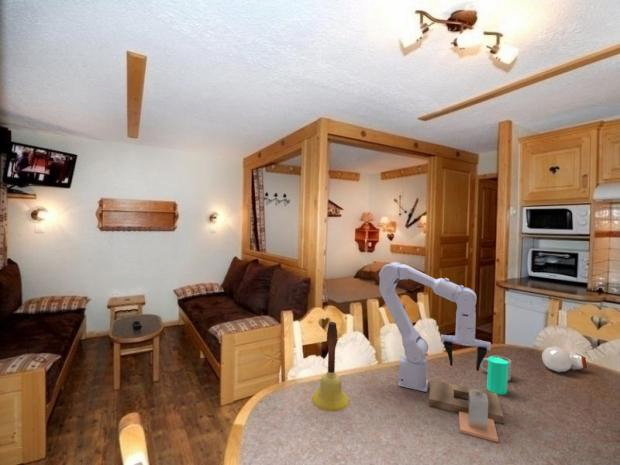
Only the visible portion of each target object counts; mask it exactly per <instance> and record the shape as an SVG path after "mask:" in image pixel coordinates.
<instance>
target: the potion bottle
mask: <svg viewBox="0 0 620 465" xmlns="http://www.w3.org/2000/svg"><path fill="white" fill-rule="evenodd" d="M541 359H542V361H543V364H544V365H545V366H546V367H547V368H548V369H549V370H551V371H554V372H556V373H563V372H567V371H569V370H570V369H572V370H573V371H576V370H578V371H580V370H583V369H584V370H586V369H587V368H588V367H587V360H586V359H587V358H586V357H585V356H583V355H581V354H578V353H575V352H574V351H573V352H572V351H570V352H568V351H566V349H564V348H561V347H559V346H555V345H554V346H549V347H546V348H545V349H544V350H543V351H542V353H541Z"/></svg>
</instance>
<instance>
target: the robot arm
mask: <svg viewBox="0 0 620 465" xmlns="http://www.w3.org/2000/svg"><path fill="white" fill-rule="evenodd" d="M378 277H379V287H378V288H379V292H380V295H381V297H382V300H384V304H385V305H386V307H387V309H388V311H389V313H390V315H391V317H392V319H393V321H394V323H395V325H396V327H397V329H398V331H399V333H400V336H401V343H402V346H403V349H404V355H405V356H400V357H399V363H398V376H397V377H398V381H397V382H398V383H397V385H398V387H404V388H406V389H407V388H408V389H412V390H415V391H419V392H420V391H421V392H425V393H427V392H428V385H429V380H428V374H427V373H428V358H427V356H426V353H428V351H429V344H428V342H427V341H426V340H425V339H424V338H423V337H422V335H421V334H420V331H419V332H418V330H416V329H415V327H414V324H413V323H412V320H411V319H410V316H409V315H408V313H407V311H406V309H405V307H404V305H403V303H402V302H401V299H400V297H399V295H398V294H397V291H396V287H397V285H398V282H399V281H401V280H411V281H414V282H417V283H419V284H422V285H424V286H427V287H429V288H431V290H432V291H433V293H434V294H435V295H438V296H439V297H441V298H444V299H446V300H449V301H450V302H453V303H455V304H456V310H455V316H456V317H455V334H454V335H449V334H448V335H447V334H440V343H444V344H443V346H444V349H445V351H446V353H447V356H448V360H449V365H450V366H451V367H453V362H454V361H453V344H455V345H460V346H461V345H462V346H466V347H473V348H476V363H475V370H476V371H477V372H479V371H480V369H481V362H482V360H483V358H486V355H487V353H488V351H491V350H492V344H491V342H490V341H484V340H481V339H477V338H476V320H477V318H476V316H477V315H476V314H477V312H476V309H477V307H476V304H477V294H476V292H475V291H474V290H473V289H471V288H470V287H464V285H462V284H460V285H458V284H457V283H454V282H452V281H450V279H449V278H448V277H444V278H442V277H440V278H437V279H436V278H434V277H432V276H429V275H428V274H425V273H423V272H422V271H419V269H418V270H417V268H416V269H415V268H413V266H409V265H407V264H404V263H401V262H399V261H392V262H390V263H387V264H383V266H382V267H381V269H380V271H379V273H378Z"/></svg>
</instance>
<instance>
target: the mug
mask: <svg viewBox="0 0 620 465" xmlns="http://www.w3.org/2000/svg"><path fill="white" fill-rule="evenodd" d="M490 356H491V357H498V356H499V358H502V359H503V360H506V361H508V380H507V382H510V381H511V379H512V378H511V377H512V360H511V359H510V358H508V357H505V356H502V355H490ZM488 358H489V357H484V358H483V360H482V362H481V364H480V369H481V371H482V370H483V371H484V372H487V373H488V367H487V368H486V367H485V366H484V362H488Z"/></svg>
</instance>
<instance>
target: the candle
mask: <svg viewBox="0 0 620 465" xmlns="http://www.w3.org/2000/svg"><path fill="white" fill-rule="evenodd" d="M491 356H492V355H490V356H488V357H487V358H488V361H487V368H488V372H487V375H486V376H487V377H486V379H487V380H486V389H487V390H488V392H491V393H496V394H497V395H502V396H503V395H507V393H508V381H507V380H508V361H506V360H503V359H502V358H499V356H500V355H497V356H498V357H491Z"/></svg>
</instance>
